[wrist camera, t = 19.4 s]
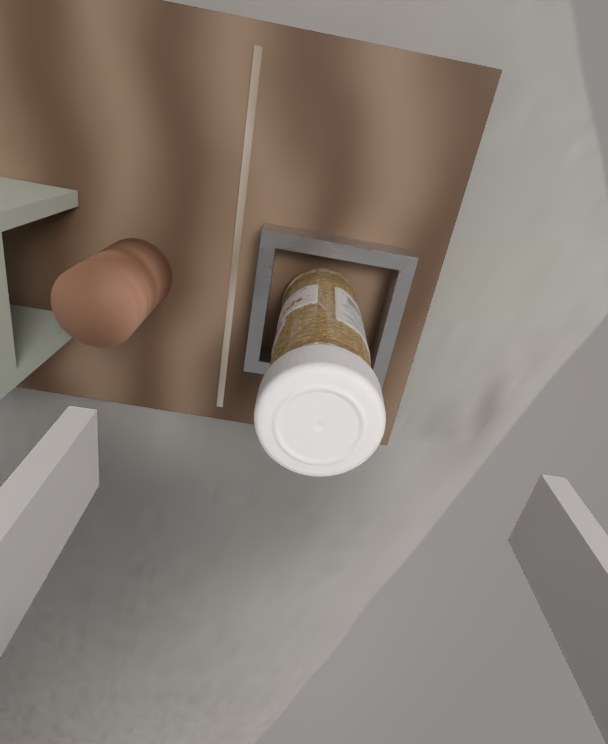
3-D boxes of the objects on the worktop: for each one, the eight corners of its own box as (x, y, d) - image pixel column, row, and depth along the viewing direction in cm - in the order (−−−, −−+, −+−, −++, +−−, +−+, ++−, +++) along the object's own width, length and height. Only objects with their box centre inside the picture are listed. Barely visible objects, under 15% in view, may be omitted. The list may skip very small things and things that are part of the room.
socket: (247, 356, 30) (243, 370, 28) (265, 222, 26) (261, 229, 25) (376, 378, 30) (380, 393, 29) (412, 249, 27) (418, 258, 25)
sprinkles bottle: (278, 268, 27) (244, 368, 15) (359, 264, 27) (389, 362, 15) (284, 343, 29) (258, 484, 17) (360, 340, 29) (387, 480, 17)
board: (-67, 360, 32) (-166, 421, 26) (-150, -59, 22) (-348, -136, 16) (384, 432, 34) (400, 507, 27) (492, 72, 24) (558, 52, 17)
